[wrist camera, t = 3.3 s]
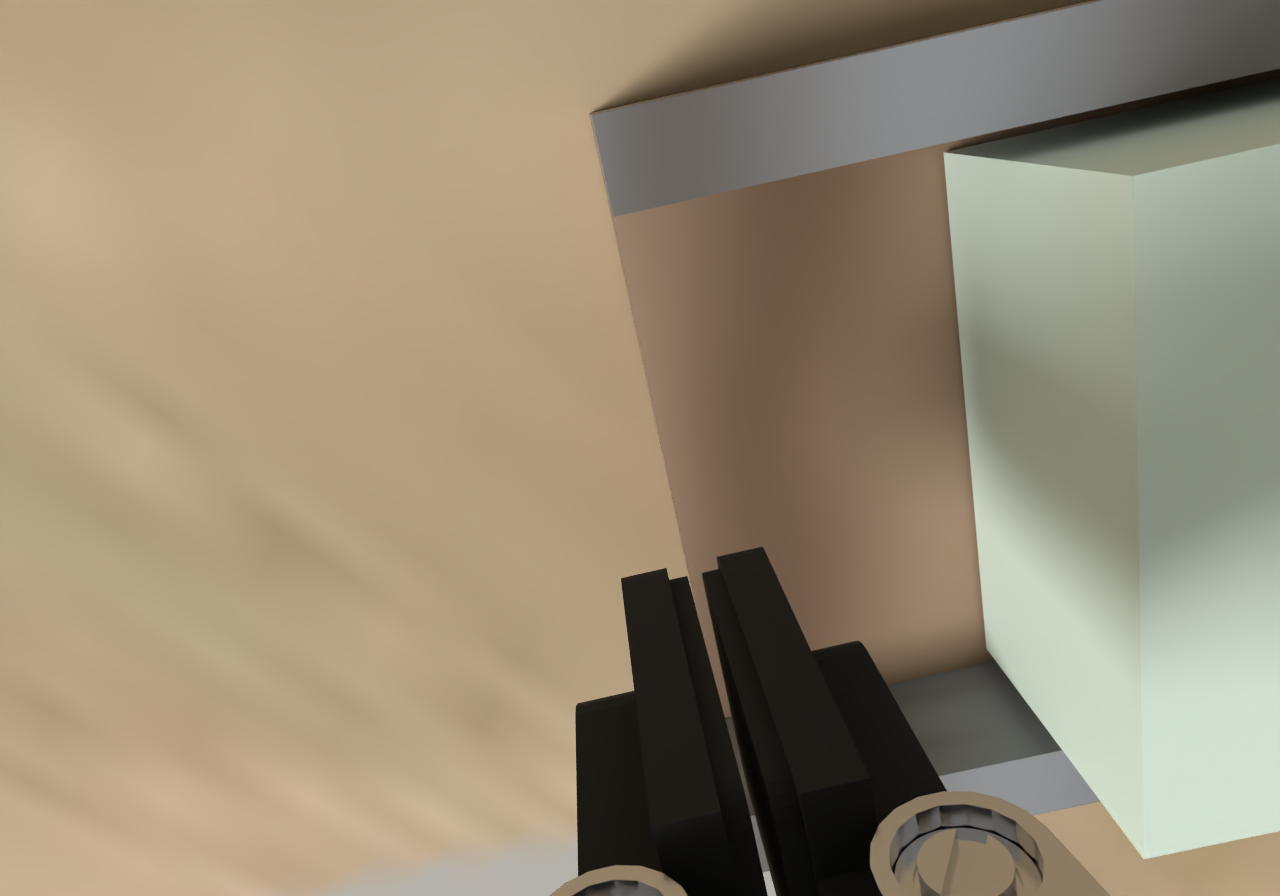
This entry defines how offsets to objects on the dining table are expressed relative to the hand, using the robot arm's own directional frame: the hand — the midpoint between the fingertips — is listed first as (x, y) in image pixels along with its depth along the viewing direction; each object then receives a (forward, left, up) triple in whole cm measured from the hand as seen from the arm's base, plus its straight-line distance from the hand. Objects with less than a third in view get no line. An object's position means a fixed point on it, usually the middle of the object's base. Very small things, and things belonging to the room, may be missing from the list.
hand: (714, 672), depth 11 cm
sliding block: (-8, 0, -5) cm, 9 cm away
